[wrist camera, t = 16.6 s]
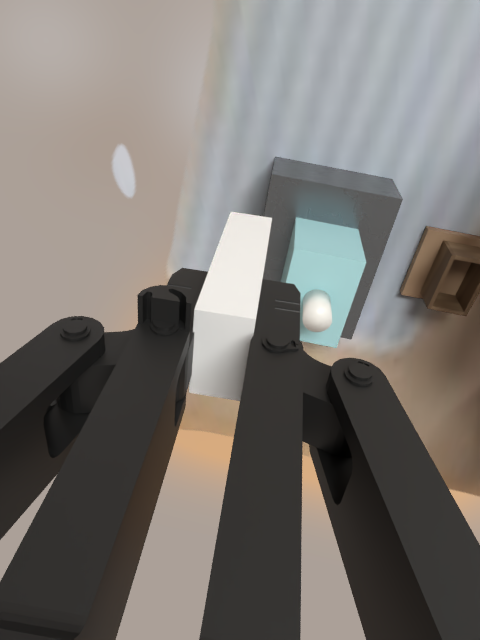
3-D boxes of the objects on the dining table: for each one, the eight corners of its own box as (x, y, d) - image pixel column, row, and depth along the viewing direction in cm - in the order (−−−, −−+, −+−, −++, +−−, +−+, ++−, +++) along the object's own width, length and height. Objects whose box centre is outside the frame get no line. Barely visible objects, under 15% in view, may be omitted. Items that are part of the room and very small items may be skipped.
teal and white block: (354, 213, 47) (370, 280, 35) (331, 289, 52) (338, 368, 40) (296, 202, 47) (293, 264, 35) (278, 278, 52) (270, 355, 40)
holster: (501, 240, 49) (517, 259, 45) (468, 303, 53) (480, 325, 49) (426, 226, 49) (436, 243, 45) (399, 290, 53) (406, 311, 49)
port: (392, 179, 46) (403, 200, 41) (347, 310, 55) (351, 341, 50) (275, 156, 47) (271, 174, 41) (249, 290, 56) (243, 319, 50)
